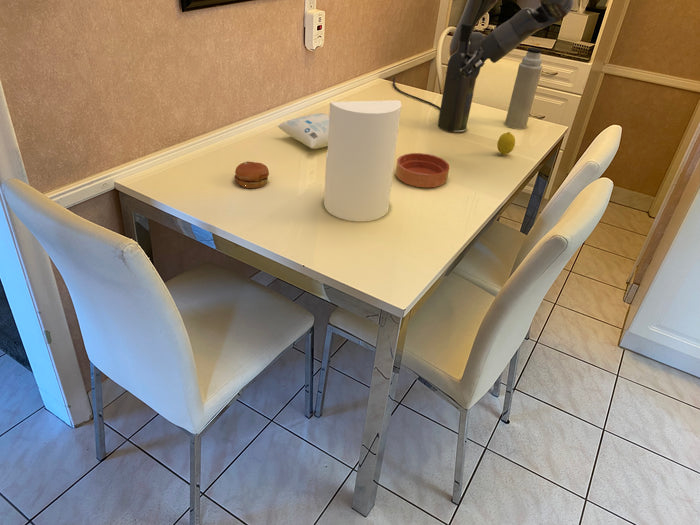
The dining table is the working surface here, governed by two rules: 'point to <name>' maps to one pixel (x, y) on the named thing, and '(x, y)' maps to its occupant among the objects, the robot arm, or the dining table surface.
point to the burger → (251, 174)
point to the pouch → (308, 129)
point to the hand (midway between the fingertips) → (452, 78)
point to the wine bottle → (455, 85)
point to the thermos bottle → (524, 89)
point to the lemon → (506, 143)
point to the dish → (422, 170)
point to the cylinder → (360, 158)
